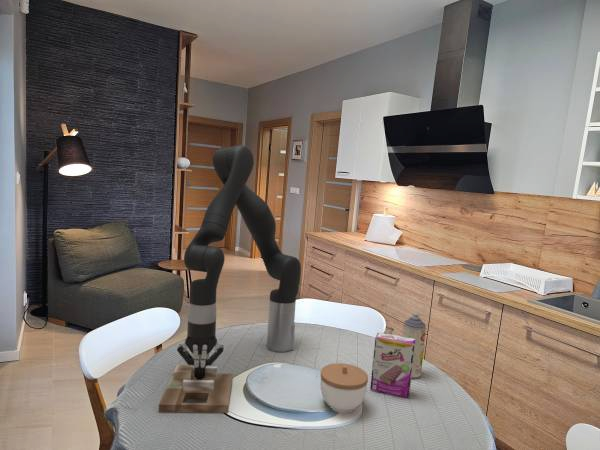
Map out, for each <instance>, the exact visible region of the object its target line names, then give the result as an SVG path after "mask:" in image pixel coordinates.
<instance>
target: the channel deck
mask: <svg viewBox="0 0 600 450" xmlns="http://www.w3.org/2000/svg"><path fill="white" fill-rule="evenodd" d="M194 373H195V367H194V366H193V379H192V380H183V386H173V380H174V372H172V375H171V377H170V379H169V381H168V384H167V385H166V388H165V390H164V393H163V394H162V397H161V399H160V401H159V403H158V413H191V414H192V413H195V414H196V413H197V414H199V413H200V414H201V413H205V414H206V413H208V414H211V413H213V414H216V413H217V414H218V413H219V414H220V413H221V414H228V413H229V408H230V400H231V394H232V386H233V376H234V375H233V373H218V366H216V365H215V366H212V365H210V366H209V365H208V366H206V374H205V377H204V378H203V379H202V380H197V378H195V376H194Z"/></svg>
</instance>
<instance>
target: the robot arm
mask: <svg viewBox="0 0 600 450" xmlns="http://www.w3.org/2000/svg"><path fill="white" fill-rule="evenodd" d="M254 160H255V159H254V154H253V153H252V151H251V149H250V148H249V147H248V146H246V145H243V144H241V145H233V146H229V147H224V148H220V149H217V150H216V151H214V153H213V156H212V166H213V168H214V171H215V173H216V174H217V177H218V178H219V180H220V182H221V183H222V185H223V187H222V188H221V189H220V191H218V193H216V196H214V198H213V199H212V200H211V201H210V203H209V205H208V206H207V207H206V208H207V209H206V210H205V212H204V213H205V214H204V216H203V219H202V222H201V225H200V228H199V230H198V231H197V232H196V234H195V235H194V237H193V239H192V240H191V241H190V243H189V244H188V246H187V247H186V249H185V251H184V254H183V255H184V256H183V263H184V265H185V266H184V267H186V268H187V270H189V271H194V272H199V273H200V272H202V273H206V275H205V278H198V279H195V280H193V281H191V283H190V285H189V286H190V287H189V303H188V310H187V328H186V329H187V332H186V333H187V335H186V339H185V340H184V342H183V343H180V344H178V347H177V349H176V351H177V352H178V354H179V355H180V357H182V359H183V360H184V361H185V363H186V365H193V366H194V367H195V373H194V376H195V378H197V380H202V379H203V378H204V377H205V374H206V366H212V365H213V364H214V362H215V361H216V360H217V359H218V358H219V357H220V356H221V354H222V353H223V352H224V350H225V349H224V348H225V345H223V344H220V343H219V342H218V339H217V336H216V331H217V289H218V284H219V281H220V276H221V273H222V270H223V268H224V264H225V254H224V251H223V250H222V249H221V247H218V246H212V245H211V246H210V244H212V243H218V242H221V241H223V240H224V239H225V236H226V233H227V231H228V228H229V224H230V221H231V217H232V214H233V212H234V208H235V206H236V208H237V209H238V211H239V214H240V215H241V218H242V220H243V222H244V224H245V226H246V228H247V230H248V232H249V233H250V235H251V237H252V239H253V241H254V244H255V245H256V246H257V249H258V251H259V254H260V256H261V259H262V262H263V264H264V266H265V270H266V271H267V273H268V275H269V277H271V278H272V279H275V280H277V281H279V284H278V285H279V286H278V288H276V289H272V290H271V291H270V293H269V301H268V302H269V305H268V322H267V323H268V324H267V334H266V337H267V339H266V348H267V349H268V350H270V351H272V352H278V353H283V352H284V353H285V352H289V351H294V345H295V344H294V343H295V341H294V340H295V329H296V328H295V327H296V323H295V319H296V317H295V316H296V301H297V296H298V293H299V289H300V281H301V273H302V267H301V262H300V260H299V259H298V258H297V257H295V256H293V255H287V254H284V253H283V252H282V251H281V249H280V248H279V246H278V243H277V240H276V231H277V225H276V219H275V217H274V214H273V213H272V211H271V209H270V207H269V205H268V203H267V202H266V201H265V200H264V199H262V197H261V196H259V195H258V194H257V193H255V192H254V191H253V190H252V189H251V188H249V186H248V185H247V182H248V180H249V178H250V175H251V174H252V171H253V169H254ZM213 349H214V350H213ZM188 350H189V351H190V352H191V353H193V354H194V359H193V357H192V356H191V353H190V352H189V351H188ZM212 350H213V351H214V352H213V353H212V354H211V355H210V356H209V358H208V359H207V354H210V353H211V351H212ZM200 355H202V357H201V364H200ZM206 359H207V360H206Z"/></svg>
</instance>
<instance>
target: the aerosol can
mask: <svg viewBox="0 0 600 450" xmlns="http://www.w3.org/2000/svg"><path fill="white" fill-rule="evenodd" d="M402 326H403V327H402V337H407V338H413V339H415V340H416V341H415V350H414V359H413V368H412V377H411V380H419V379H421V377H422V369H423V358H424V350H425V349H424V348H425V340H426V339H425V338H426V332H427V330H426V329H427V327H426V323H425V322H423V319H421V318H420V316H419V313H417V312H413V313H412V316H410V317H409V318H408V319H406V320H404V322H403V325H402Z"/></svg>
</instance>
